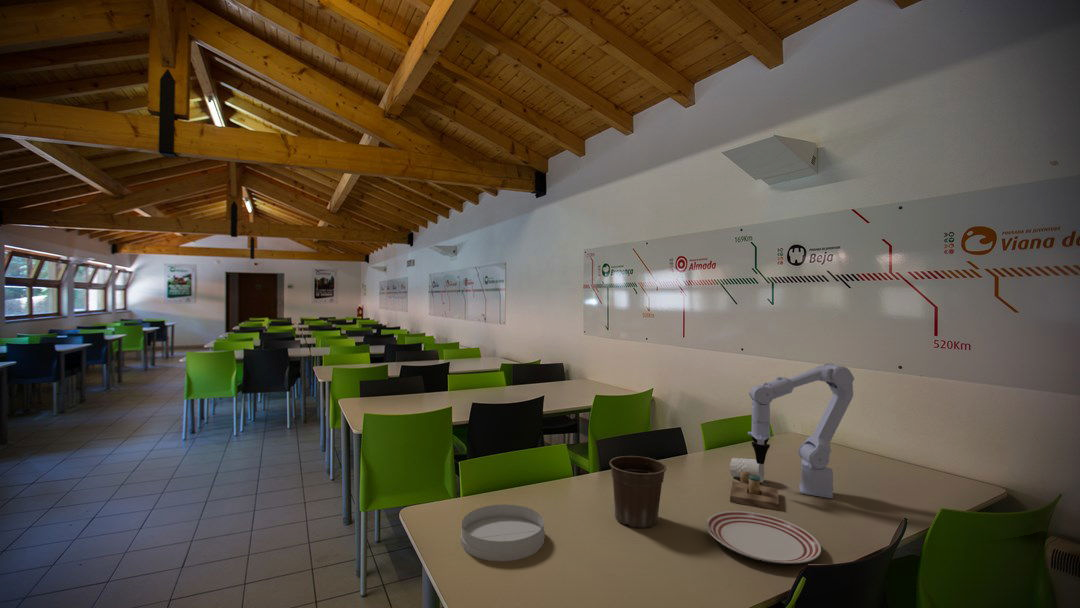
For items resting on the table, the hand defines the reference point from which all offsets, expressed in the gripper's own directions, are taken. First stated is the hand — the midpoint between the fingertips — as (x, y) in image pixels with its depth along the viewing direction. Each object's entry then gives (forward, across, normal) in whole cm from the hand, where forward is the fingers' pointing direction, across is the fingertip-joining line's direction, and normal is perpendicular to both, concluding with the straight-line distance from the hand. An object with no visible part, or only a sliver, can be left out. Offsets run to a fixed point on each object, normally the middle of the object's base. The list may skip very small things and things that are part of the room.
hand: (760, 460), depth 167 cm
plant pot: (+10, +42, -33) cm, 55 cm away
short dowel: (+10, -2, -5) cm, 11 cm away
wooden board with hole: (+10, +10, -2) cm, 14 cm away
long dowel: (+10, +10, -2) cm, 14 cm away
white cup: (+6, -9, -9) cm, 14 cm away
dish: (+10, +70, -63) cm, 94 cm away
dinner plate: (+10, +43, 0) cm, 44 cm away
